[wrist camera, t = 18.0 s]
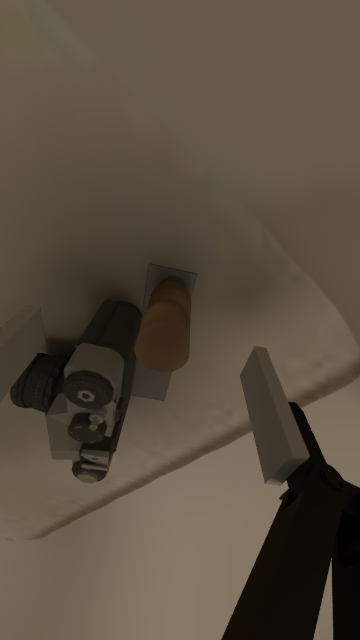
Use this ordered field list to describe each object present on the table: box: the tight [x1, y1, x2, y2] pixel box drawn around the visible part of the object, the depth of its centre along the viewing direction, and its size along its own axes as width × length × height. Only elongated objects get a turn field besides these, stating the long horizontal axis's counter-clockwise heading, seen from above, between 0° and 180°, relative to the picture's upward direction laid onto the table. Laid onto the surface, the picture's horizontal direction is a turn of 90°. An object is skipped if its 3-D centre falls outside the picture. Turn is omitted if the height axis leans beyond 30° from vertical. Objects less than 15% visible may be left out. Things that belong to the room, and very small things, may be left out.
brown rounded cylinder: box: [134, 276, 191, 372], centre depth 17 cm, size 3×3×8 cm
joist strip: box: [132, 264, 197, 401], centre depth 24 cm, size 4×17×1 cm, turn 169°
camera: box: [10, 299, 142, 483], centre depth 22 cm, size 16×10×10 cm, turn 168°
